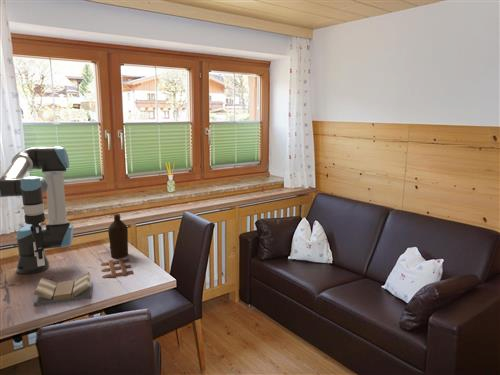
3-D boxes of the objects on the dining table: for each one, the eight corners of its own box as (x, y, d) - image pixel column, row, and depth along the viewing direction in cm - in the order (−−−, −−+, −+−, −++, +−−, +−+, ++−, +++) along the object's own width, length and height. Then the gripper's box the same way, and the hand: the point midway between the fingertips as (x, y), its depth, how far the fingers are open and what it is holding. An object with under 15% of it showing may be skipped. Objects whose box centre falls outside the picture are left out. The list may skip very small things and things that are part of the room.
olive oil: (133, 253, 228) (130, 212, 223) (121, 259, 218) (118, 217, 214) (118, 251, 232) (115, 210, 227) (106, 257, 222) (102, 215, 217)
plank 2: (77, 283, 184) (75, 280, 183) (90, 274, 185) (88, 271, 185) (75, 296, 172) (72, 292, 171) (89, 286, 173) (86, 283, 172)
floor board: (39, 292, 179) (38, 285, 179) (92, 284, 187) (92, 278, 186) (33, 306, 166) (33, 298, 166) (91, 297, 174) (90, 290, 173)
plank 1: (39, 281, 178) (41, 277, 178) (54, 286, 181) (56, 282, 181) (33, 294, 166) (36, 290, 166) (50, 299, 168) (52, 295, 168)
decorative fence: (128, 260, 220) (100, 264, 214) (128, 257, 219) (100, 261, 213) (133, 275, 199) (102, 280, 193) (133, 272, 198) (102, 277, 193)
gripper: (22, 208, 172) (27, 253, 176) (26, 221, 151) (32, 272, 155) (41, 206, 176) (46, 250, 180) (47, 218, 155) (53, 268, 160)
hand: (39, 260), depth 168 cm, fingers open, 13 cm apart
